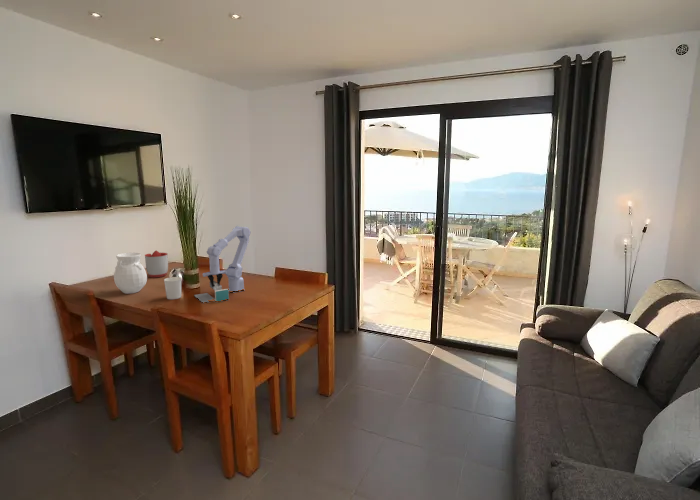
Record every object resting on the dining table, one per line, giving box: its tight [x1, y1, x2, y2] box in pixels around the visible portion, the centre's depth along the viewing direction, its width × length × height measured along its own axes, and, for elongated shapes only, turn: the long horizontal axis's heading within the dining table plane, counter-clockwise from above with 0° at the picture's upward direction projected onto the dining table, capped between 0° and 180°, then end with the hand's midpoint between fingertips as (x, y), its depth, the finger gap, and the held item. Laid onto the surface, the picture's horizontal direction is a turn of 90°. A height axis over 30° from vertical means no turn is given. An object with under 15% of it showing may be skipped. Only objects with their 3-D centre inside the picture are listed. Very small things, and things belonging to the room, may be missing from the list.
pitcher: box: [113, 252, 148, 295], centre depth 237 cm, size 19×18×25 cm
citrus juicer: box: [144, 250, 169, 279], centre depth 278 cm, size 16×17×20 cm
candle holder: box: [163, 276, 182, 300], centre depth 228 cm, size 10×10×12 cm
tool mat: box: [193, 292, 215, 304], centre depth 228 cm, size 8×18×1 cm, turn 39°
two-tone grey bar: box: [209, 280, 223, 292], centre depth 231 cm, size 3×14×4 cm, turn 38°
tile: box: [214, 288, 230, 302], centre depth 223 cm, size 8×2×7 cm, turn 129°
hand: (215, 285), depth 231 cm, fingers closed on two-tone grey bar, 3 cm apart
